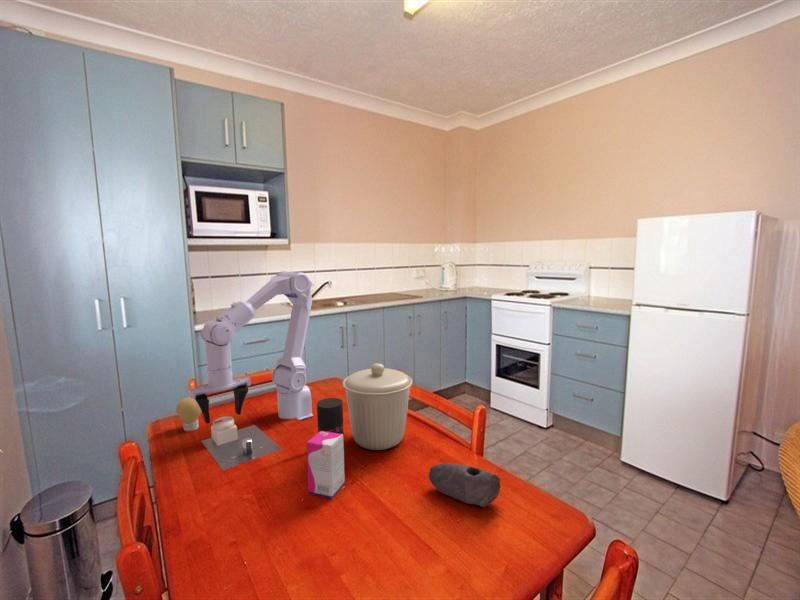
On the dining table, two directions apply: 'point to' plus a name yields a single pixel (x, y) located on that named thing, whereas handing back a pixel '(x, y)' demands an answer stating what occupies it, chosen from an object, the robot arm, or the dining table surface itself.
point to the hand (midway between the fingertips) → (223, 417)
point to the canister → (377, 406)
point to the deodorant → (330, 415)
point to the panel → (241, 447)
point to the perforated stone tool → (465, 483)
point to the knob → (224, 430)
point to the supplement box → (325, 464)
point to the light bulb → (188, 413)
